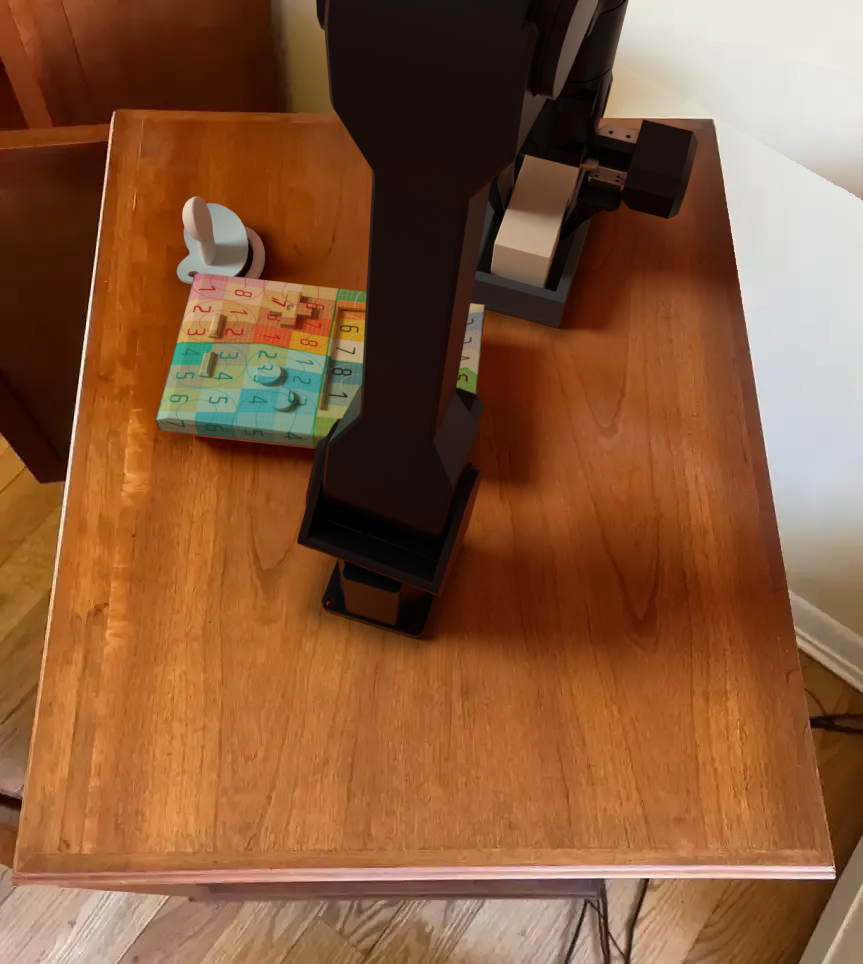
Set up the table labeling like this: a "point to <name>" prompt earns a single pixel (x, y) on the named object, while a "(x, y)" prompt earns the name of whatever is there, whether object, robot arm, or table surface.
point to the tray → (522, 296)
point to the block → (533, 221)
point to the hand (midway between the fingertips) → (534, 228)
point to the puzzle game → (274, 360)
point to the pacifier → (217, 242)
